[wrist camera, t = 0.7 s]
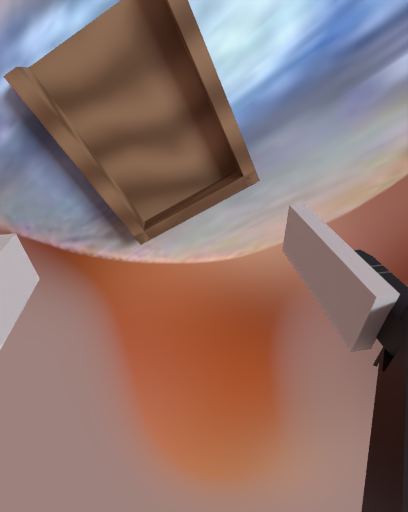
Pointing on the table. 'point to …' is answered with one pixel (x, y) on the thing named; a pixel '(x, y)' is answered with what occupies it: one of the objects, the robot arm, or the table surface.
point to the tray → (141, 114)
